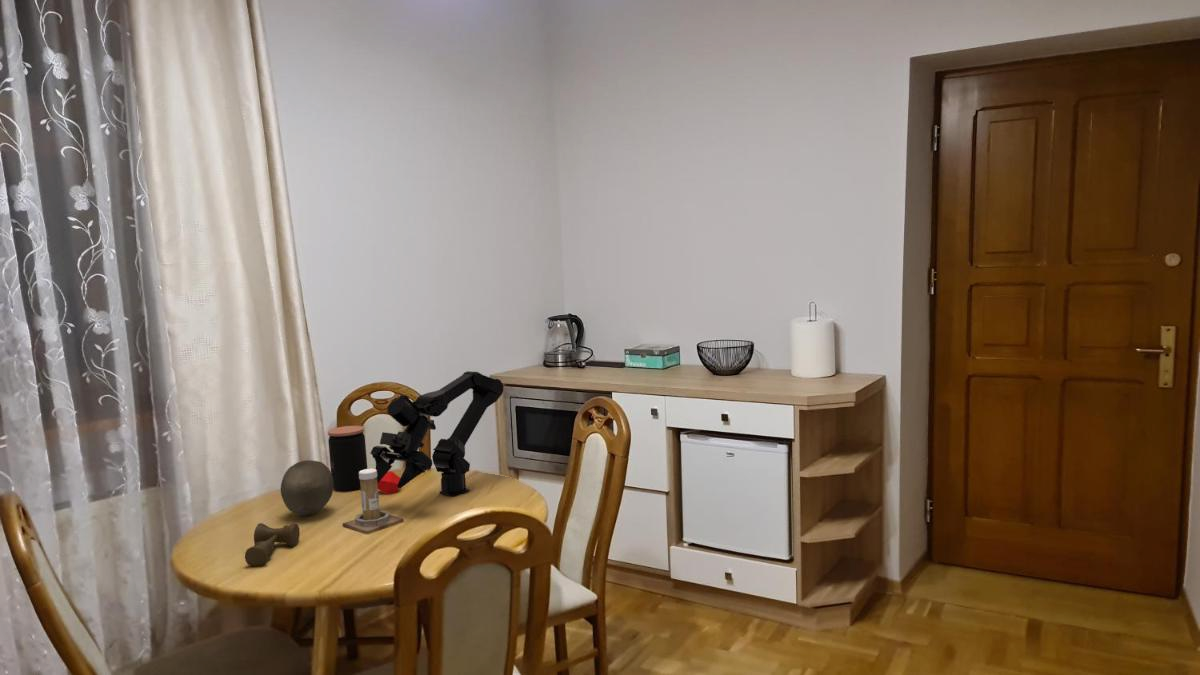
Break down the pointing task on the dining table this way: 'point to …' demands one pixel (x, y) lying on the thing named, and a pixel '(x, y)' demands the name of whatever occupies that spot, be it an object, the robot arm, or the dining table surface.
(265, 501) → the dining table surface
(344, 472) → the coffee jar
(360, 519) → the hub seat
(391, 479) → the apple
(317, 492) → the dark grey ball
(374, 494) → the sprinkles bottle
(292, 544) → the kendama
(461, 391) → the robot arm
